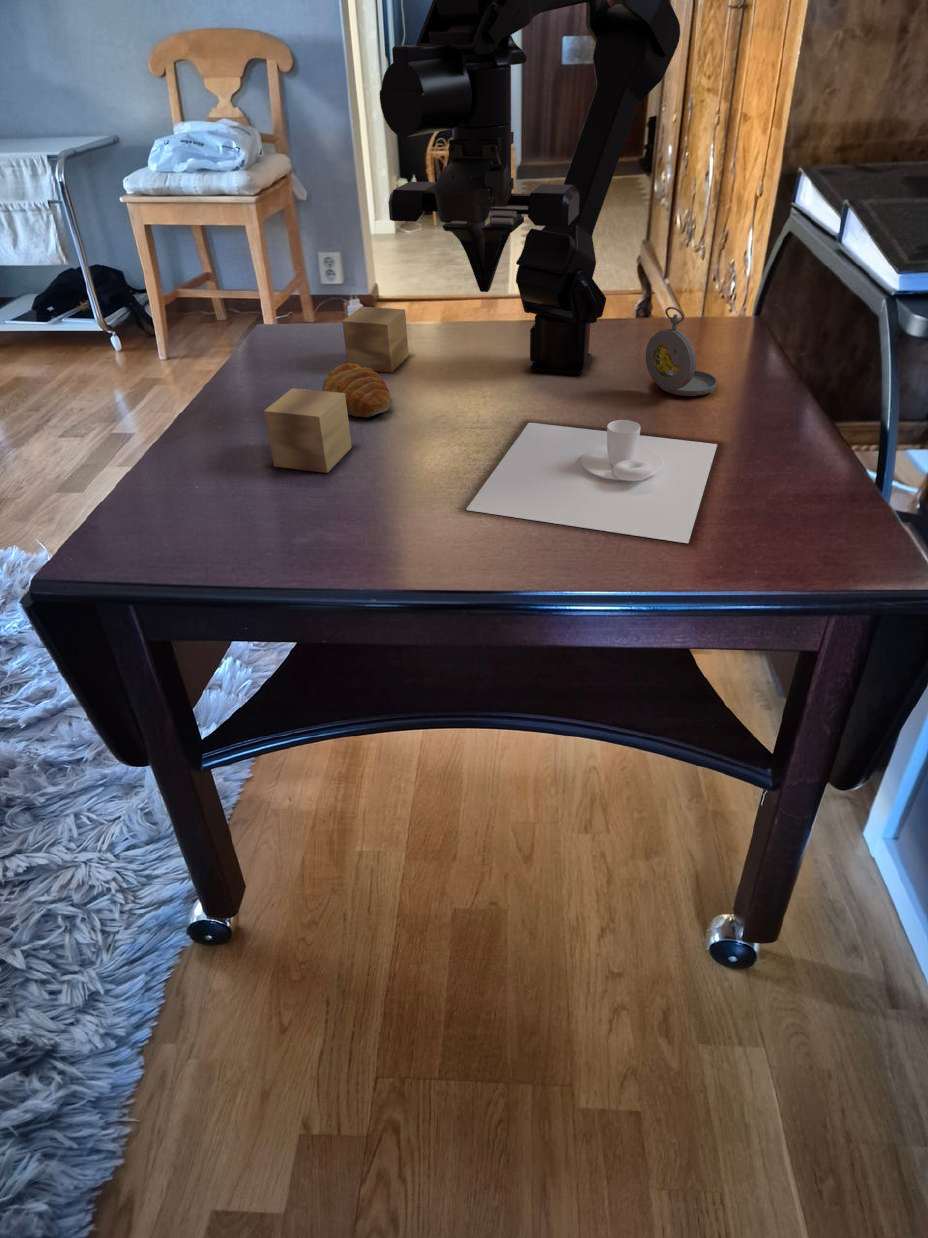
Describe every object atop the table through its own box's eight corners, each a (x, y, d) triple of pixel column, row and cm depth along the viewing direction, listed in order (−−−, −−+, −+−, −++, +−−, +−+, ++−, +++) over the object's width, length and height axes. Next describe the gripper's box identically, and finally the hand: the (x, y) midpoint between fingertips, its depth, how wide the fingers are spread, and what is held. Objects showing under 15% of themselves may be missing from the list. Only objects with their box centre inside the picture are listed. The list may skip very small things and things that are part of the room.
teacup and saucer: (653, 493, 78) (658, 452, 76) (569, 482, 80) (571, 442, 78) (669, 453, 85) (673, 414, 82) (591, 443, 87) (593, 406, 85)
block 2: (408, 356, 110) (405, 309, 106) (391, 372, 105) (387, 324, 102) (366, 352, 112) (361, 306, 108) (347, 368, 107) (341, 320, 103)
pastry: (407, 411, 96) (405, 378, 93) (355, 427, 93) (350, 393, 90) (368, 386, 102) (364, 355, 100) (317, 400, 99) (312, 369, 97)
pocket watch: (719, 380, 99) (732, 292, 93) (711, 407, 93) (724, 315, 87) (649, 374, 102) (657, 288, 96) (637, 400, 96) (645, 310, 89)
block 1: (352, 447, 88) (345, 392, 85) (327, 473, 84) (319, 416, 80) (300, 441, 90) (291, 387, 86) (273, 466, 86) (263, 410, 82)
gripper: (359, 135, 78) (376, 308, 87) (557, 136, 73) (552, 319, 82) (403, 119, 86) (414, 278, 95) (583, 119, 81) (576, 287, 90)
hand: (485, 290), depth 91 cm, fingers closed
